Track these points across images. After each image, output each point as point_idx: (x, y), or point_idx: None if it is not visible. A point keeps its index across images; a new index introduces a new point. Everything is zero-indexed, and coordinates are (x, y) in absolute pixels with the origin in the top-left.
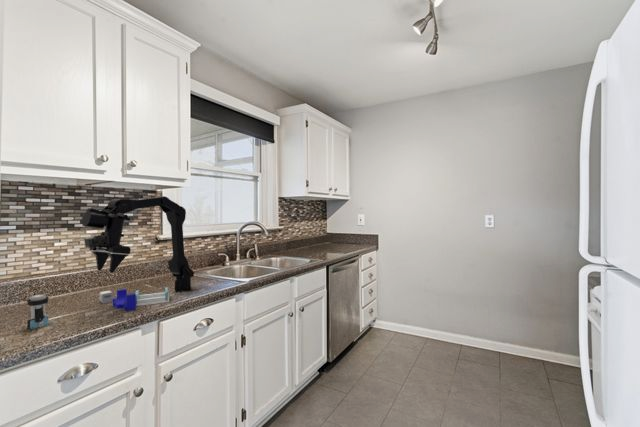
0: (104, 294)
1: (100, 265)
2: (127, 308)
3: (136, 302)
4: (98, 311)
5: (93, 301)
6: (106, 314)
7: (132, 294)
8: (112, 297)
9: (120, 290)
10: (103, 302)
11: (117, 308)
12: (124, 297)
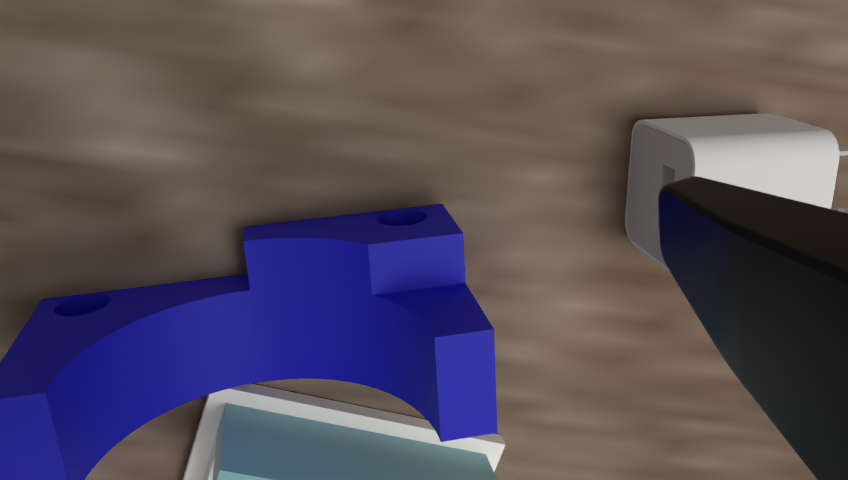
0: (689, 174)
1: (750, 310)
2: (33, 317)
3: (217, 436)
4: (278, 23)
5: (826, 52)
6: (45, 79)
7: (7, 474)
8: (648, 246)
9: (438, 369)
10: (637, 136)
11: (244, 228)
12: (382, 359)
